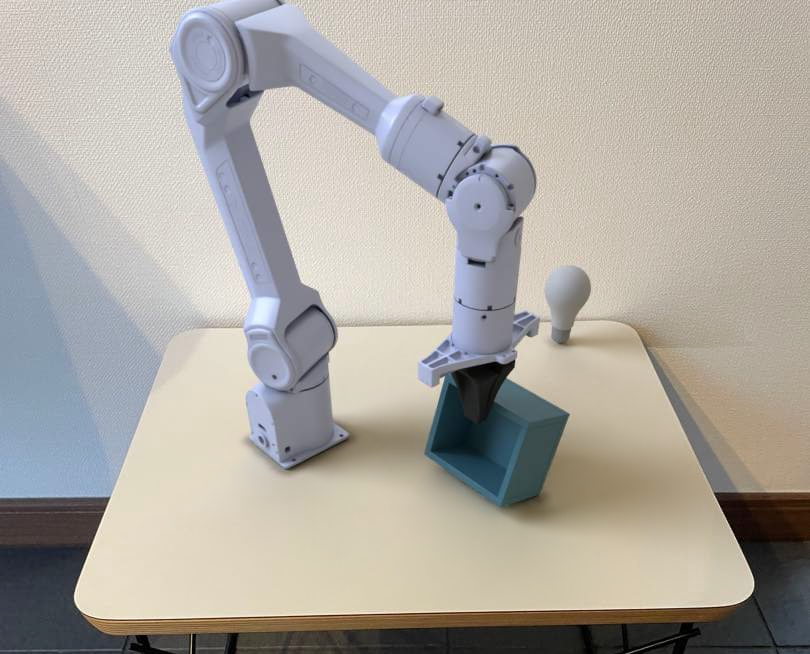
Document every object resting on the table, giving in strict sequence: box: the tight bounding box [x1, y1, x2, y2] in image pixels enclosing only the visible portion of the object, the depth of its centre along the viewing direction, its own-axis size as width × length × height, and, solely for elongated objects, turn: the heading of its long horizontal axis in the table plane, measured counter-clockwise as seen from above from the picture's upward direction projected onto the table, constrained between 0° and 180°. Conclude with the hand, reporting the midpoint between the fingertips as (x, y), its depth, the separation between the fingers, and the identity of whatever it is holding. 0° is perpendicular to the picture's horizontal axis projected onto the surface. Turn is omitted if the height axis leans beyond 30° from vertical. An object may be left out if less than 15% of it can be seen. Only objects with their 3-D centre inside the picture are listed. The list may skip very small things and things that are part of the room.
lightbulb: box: [544, 264, 592, 344], centre depth 104 cm, size 6×6×11 cm
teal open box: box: [423, 374, 571, 508], centre depth 84 cm, size 7×12×10 cm, turn 42°
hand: (475, 417), depth 79 cm, fingers closed
